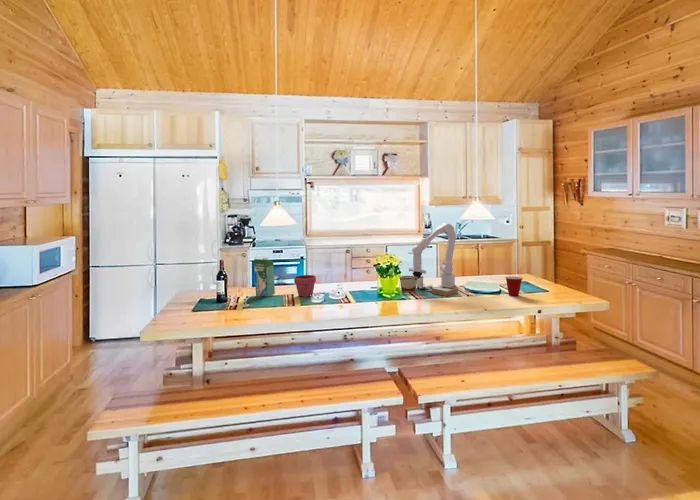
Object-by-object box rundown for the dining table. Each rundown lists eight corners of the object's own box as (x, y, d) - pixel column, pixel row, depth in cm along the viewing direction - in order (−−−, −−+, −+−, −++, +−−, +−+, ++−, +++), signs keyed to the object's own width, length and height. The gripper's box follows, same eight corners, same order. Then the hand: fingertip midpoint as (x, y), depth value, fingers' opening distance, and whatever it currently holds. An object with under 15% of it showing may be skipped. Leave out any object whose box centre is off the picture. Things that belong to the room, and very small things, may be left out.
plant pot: (304, 292, 327) (303, 273, 325) (320, 294, 319) (320, 275, 317) (290, 296, 315) (289, 277, 314) (306, 299, 307) (306, 279, 305)
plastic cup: (522, 293, 308) (523, 275, 306) (522, 297, 298) (523, 278, 296) (504, 293, 312) (505, 274, 310) (504, 296, 301) (504, 278, 300)
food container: (417, 290, 326) (417, 275, 325) (417, 292, 320) (417, 277, 319) (399, 290, 327) (399, 275, 326) (399, 292, 321) (399, 277, 320)
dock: (433, 289, 330) (433, 283, 330) (457, 293, 315) (457, 288, 314) (421, 291, 323) (421, 286, 322) (446, 296, 307) (446, 291, 307)
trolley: (422, 286, 334) (422, 276, 333) (432, 288, 328) (432, 277, 327) (415, 288, 330) (415, 277, 329) (425, 290, 323) (425, 279, 322)
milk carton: (274, 294, 324) (273, 257, 320) (267, 297, 316) (265, 259, 312) (263, 293, 327) (262, 256, 324) (255, 295, 319) (254, 258, 316)
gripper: (405, 262, 334) (405, 281, 336) (421, 265, 323) (421, 284, 325) (412, 261, 339) (412, 280, 340) (428, 263, 328) (428, 283, 329)
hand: (417, 282), depth 333 cm, fingers closed
